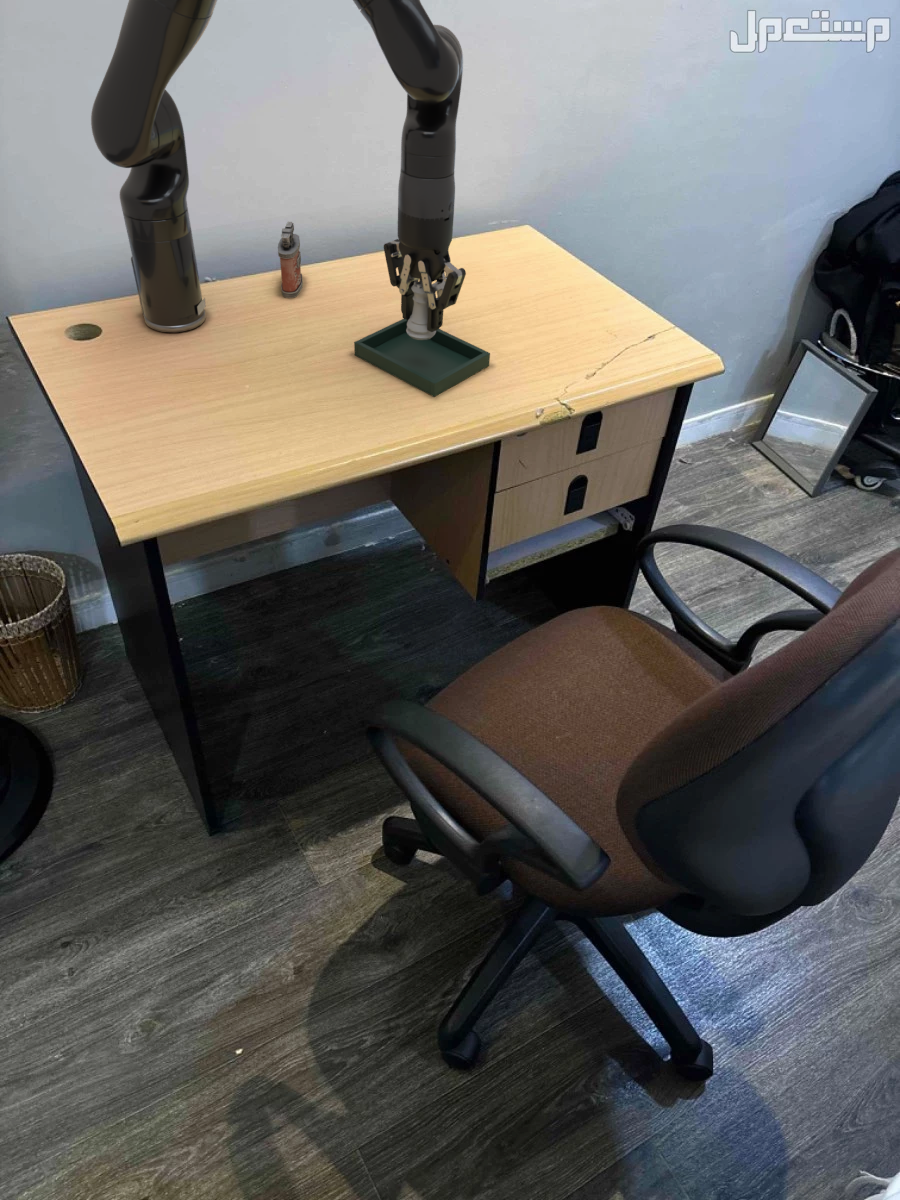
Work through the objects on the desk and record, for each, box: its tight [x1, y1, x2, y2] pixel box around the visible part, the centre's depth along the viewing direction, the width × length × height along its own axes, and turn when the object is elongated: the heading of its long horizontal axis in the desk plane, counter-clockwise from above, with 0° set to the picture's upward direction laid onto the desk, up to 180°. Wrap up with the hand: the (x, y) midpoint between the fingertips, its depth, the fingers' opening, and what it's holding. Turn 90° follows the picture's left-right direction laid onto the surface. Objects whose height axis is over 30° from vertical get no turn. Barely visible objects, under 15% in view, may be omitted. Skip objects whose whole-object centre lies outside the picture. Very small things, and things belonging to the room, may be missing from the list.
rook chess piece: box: [406, 279, 436, 340], centre depth 127 cm, size 4×4×8 cm
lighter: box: [277, 221, 304, 299], centre depth 146 cm, size 8×3×10 cm, turn 179°
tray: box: [353, 318, 491, 398], centre depth 134 cm, size 17×13×2 cm
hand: (421, 323), depth 129 cm, fingers closed on rook chess piece, 4 cm apart
